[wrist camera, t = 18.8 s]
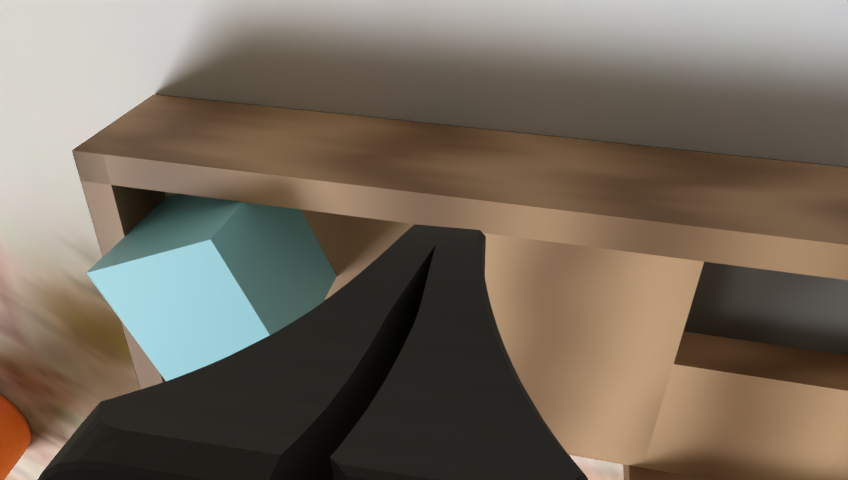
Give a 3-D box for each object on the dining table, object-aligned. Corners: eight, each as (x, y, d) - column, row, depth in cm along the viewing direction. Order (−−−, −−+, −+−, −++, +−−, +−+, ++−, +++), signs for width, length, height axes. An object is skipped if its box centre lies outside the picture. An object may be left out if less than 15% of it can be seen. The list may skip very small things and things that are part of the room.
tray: (1285, 213, 18) (1457, 319, 15) (1037, 513, 26) (1111, 635, 22) (153, 94, 24) (71, 150, 20) (210, 370, 31) (157, 449, 27)
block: (336, 276, 24) (288, 365, 20) (232, 300, 25) (170, 386, 22) (275, 163, 22) (210, 239, 18) (166, 197, 23) (86, 273, 20)
